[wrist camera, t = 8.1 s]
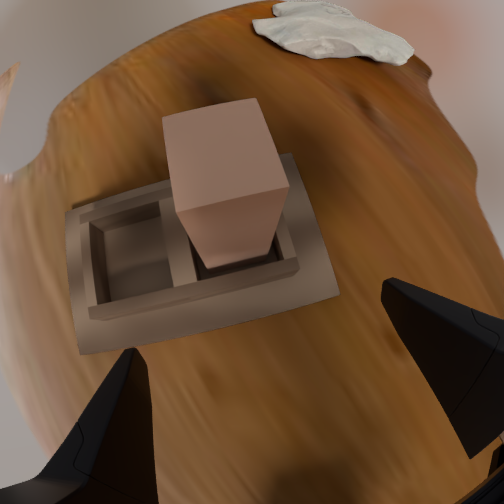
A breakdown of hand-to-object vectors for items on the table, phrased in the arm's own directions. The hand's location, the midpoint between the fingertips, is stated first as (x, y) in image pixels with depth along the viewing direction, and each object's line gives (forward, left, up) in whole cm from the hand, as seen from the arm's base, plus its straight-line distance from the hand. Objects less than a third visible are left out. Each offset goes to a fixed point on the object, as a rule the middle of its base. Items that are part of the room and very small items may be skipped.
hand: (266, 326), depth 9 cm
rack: (+1, +7, -11) cm, 14 cm away
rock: (+31, +15, -12) cm, 37 cm away
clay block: (+4, +5, -10) cm, 12 cm away
